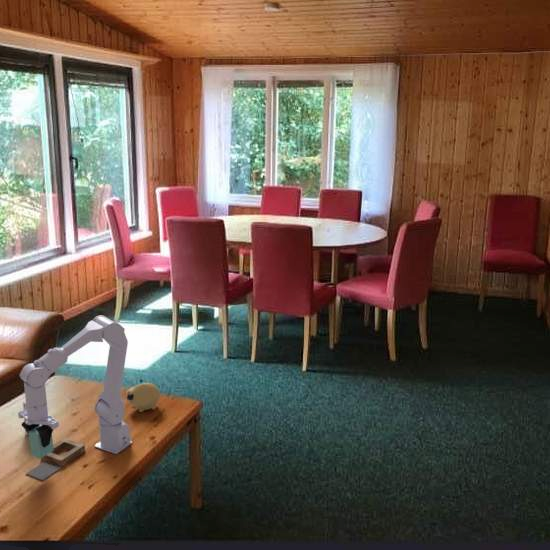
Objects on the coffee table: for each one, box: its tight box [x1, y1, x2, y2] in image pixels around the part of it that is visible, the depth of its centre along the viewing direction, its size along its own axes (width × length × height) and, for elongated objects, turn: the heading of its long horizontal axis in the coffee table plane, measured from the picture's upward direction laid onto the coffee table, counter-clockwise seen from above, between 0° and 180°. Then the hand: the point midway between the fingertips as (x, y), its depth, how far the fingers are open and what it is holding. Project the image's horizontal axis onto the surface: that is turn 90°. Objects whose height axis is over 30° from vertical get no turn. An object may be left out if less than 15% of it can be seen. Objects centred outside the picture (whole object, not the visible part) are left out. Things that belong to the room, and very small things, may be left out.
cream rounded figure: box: [125, 382, 161, 413], centre depth 218 cm, size 10×12×11 cm
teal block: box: [28, 425, 54, 460], centre depth 178 cm, size 4×5×8 cm
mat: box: [25, 461, 61, 482], centre depth 181 cm, size 7×7×1 cm
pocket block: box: [41, 437, 86, 468], centre depth 189 cm, size 9×10×2 cm
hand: (40, 443), depth 178 cm, fingers closed on teal block, 4 cm apart
